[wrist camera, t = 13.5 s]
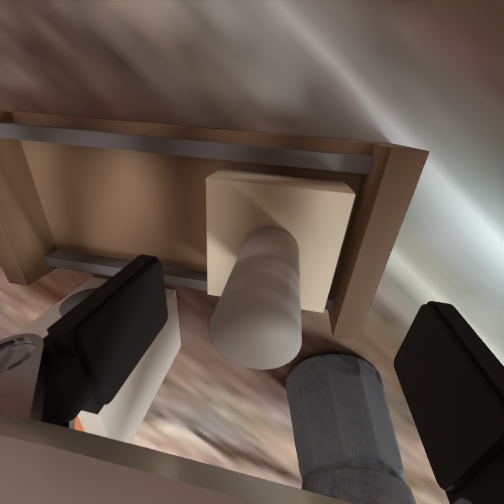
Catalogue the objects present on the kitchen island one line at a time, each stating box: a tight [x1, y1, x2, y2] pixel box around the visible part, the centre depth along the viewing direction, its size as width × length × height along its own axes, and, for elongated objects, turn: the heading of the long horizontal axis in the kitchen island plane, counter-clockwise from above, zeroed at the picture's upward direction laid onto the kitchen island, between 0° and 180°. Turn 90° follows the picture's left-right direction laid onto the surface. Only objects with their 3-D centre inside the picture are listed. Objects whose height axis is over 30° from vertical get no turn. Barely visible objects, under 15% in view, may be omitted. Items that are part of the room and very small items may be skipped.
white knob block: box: [16, 277, 181, 444], centre depth 19 cm, size 8×8×10 cm
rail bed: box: [0, 110, 430, 340], centre depth 16 cm, size 24×11×4 cm, turn 86°
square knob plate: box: [206, 168, 356, 370], centre depth 12 cm, size 7×7×9 cm
